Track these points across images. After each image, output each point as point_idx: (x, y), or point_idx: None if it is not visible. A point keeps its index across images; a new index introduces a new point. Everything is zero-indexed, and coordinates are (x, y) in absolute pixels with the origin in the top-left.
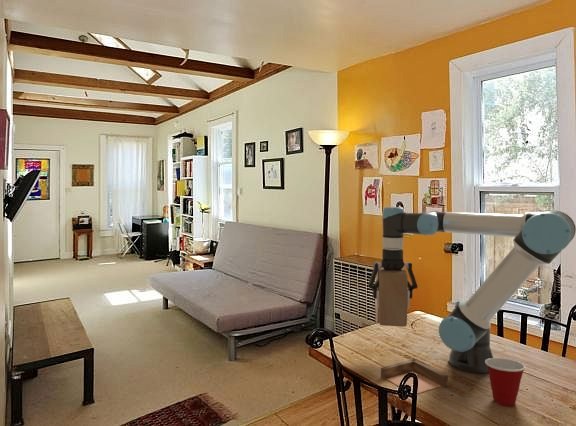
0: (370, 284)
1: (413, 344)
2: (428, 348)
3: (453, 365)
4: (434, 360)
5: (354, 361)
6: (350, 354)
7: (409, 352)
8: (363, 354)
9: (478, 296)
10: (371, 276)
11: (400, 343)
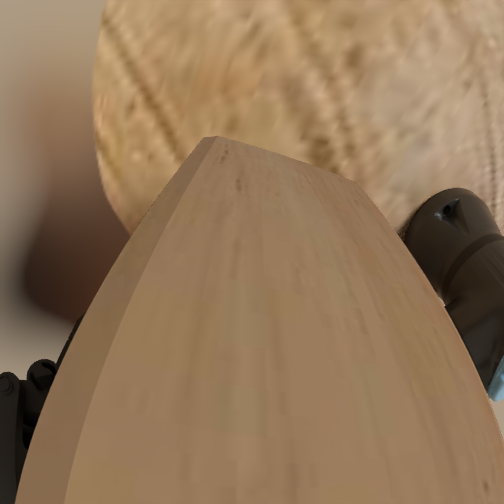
0: (27, 437)
1: (393, 62)
2: (422, 110)
3: (404, 242)
4: (386, 197)
5: (129, 173)
6: (124, 118)
7: (345, 122)
8: (167, 118)
9: None
10: (2, 492)
11: (351, 38)
